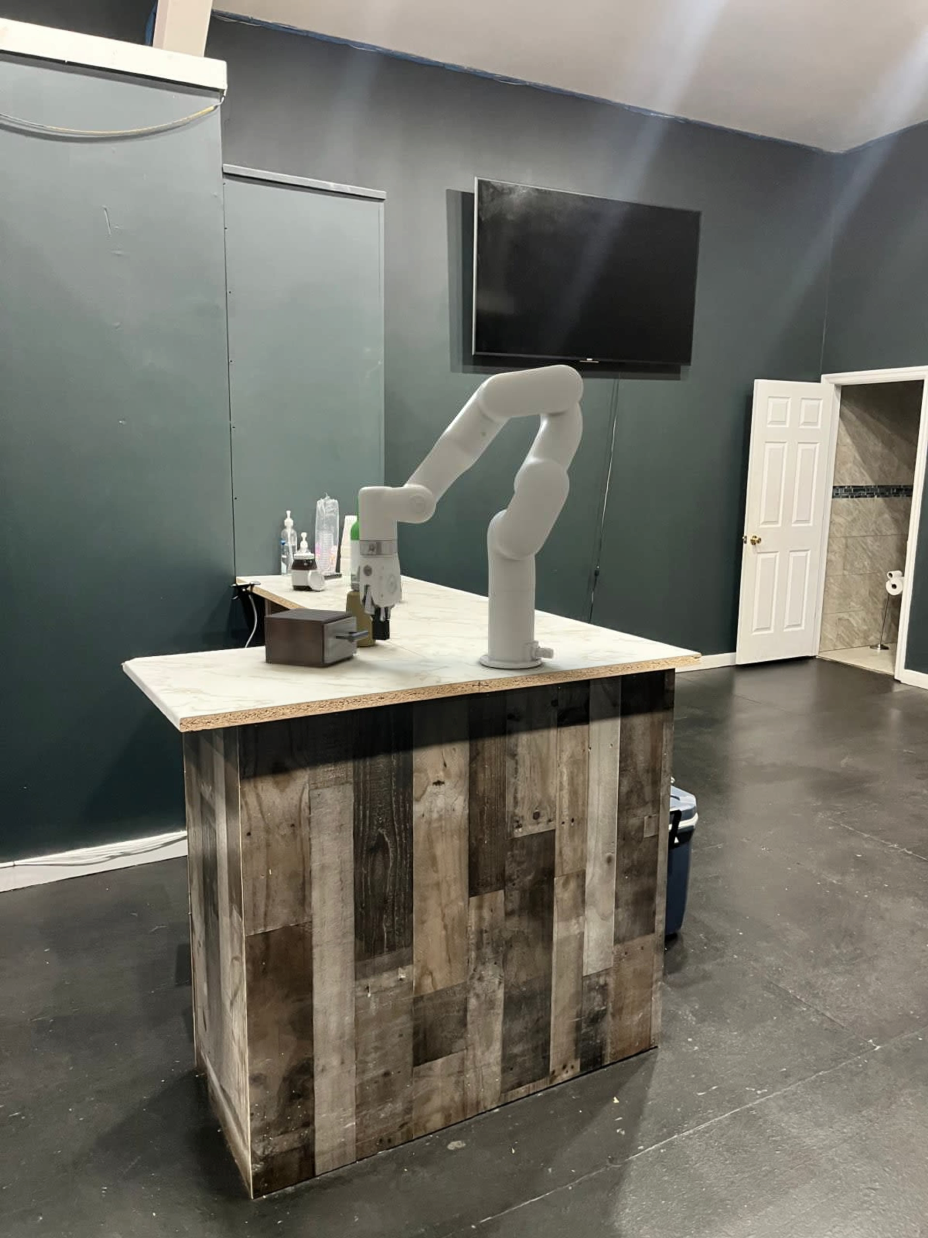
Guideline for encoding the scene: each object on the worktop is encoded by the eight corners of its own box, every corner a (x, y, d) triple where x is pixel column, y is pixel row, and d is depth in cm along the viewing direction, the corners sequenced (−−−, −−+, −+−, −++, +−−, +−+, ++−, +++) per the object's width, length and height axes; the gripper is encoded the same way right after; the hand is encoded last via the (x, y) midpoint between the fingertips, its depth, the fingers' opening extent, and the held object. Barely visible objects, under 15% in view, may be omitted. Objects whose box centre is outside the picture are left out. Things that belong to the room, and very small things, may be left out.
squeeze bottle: (373, 648, 205) (373, 568, 202) (339, 647, 207) (338, 567, 204) (384, 642, 213) (383, 564, 210) (350, 640, 214) (349, 563, 212)
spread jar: (298, 587, 314) (297, 552, 313) (330, 587, 313) (330, 553, 311) (286, 591, 303) (286, 556, 301) (320, 592, 301) (319, 556, 299)
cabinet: (353, 656, 196) (352, 611, 195) (322, 667, 185) (321, 620, 183) (298, 651, 201) (297, 608, 200) (265, 662, 190) (264, 616, 188)
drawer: (375, 654, 194) (375, 618, 192) (348, 665, 183) (348, 626, 182) (306, 648, 200) (305, 613, 199) (276, 658, 189) (275, 620, 188)
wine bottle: (348, 584, 322) (346, 498, 317) (354, 582, 329) (353, 497, 325) (369, 585, 320) (368, 498, 316) (375, 582, 328) (374, 497, 323)
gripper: (377, 552, 175) (380, 647, 178) (412, 546, 189) (414, 634, 192) (343, 551, 178) (346, 644, 181) (379, 545, 192) (382, 632, 195)
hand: (381, 639), depth 186 cm, fingers closed
